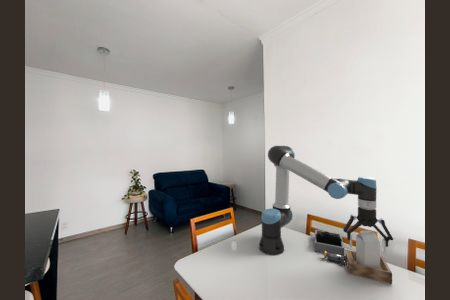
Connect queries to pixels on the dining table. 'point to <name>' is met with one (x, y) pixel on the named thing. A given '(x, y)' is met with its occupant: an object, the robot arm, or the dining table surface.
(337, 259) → the pin mount
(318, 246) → the valet tray
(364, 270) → the wooden tray
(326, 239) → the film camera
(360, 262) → the milk carton
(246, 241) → the dining table surface
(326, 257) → the lock pin
